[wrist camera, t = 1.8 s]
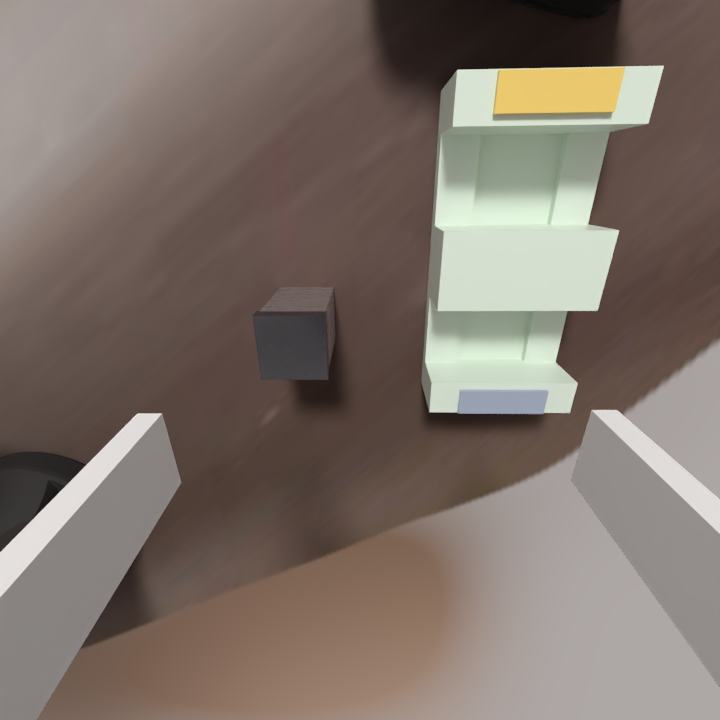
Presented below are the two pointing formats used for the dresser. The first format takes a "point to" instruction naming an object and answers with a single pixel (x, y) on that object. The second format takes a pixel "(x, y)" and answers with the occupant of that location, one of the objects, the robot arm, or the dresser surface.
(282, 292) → the plug
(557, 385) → the socket block
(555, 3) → the film camera
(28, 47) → the dresser surface
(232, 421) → the dresser surface
